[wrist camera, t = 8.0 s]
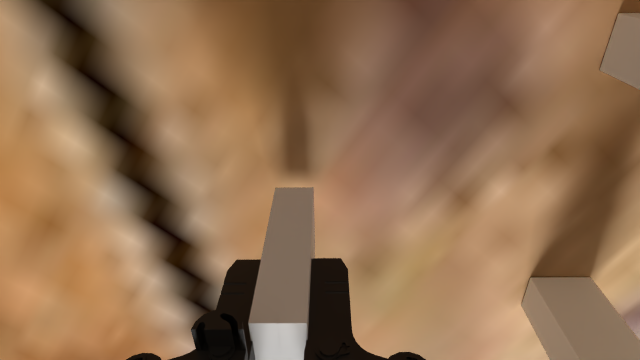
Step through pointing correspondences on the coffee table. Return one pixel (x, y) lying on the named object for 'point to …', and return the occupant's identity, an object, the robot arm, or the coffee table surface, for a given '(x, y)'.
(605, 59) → the bridge
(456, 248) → the coffee table surface
